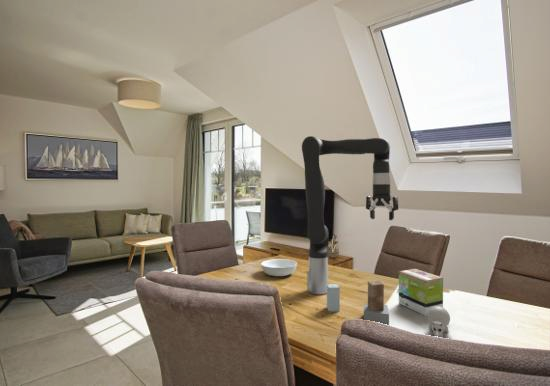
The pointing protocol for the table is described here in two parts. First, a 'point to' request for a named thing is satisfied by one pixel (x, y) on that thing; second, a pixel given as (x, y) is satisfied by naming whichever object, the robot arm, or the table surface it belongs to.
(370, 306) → the walnut block
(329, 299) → the bluegrey block
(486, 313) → the table surface
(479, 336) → the table surface
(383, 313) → the grey block
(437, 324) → the round bodied animal figurine
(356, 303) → the table surface
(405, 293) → the tea box
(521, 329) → the table surface
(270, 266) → the serving bowl
